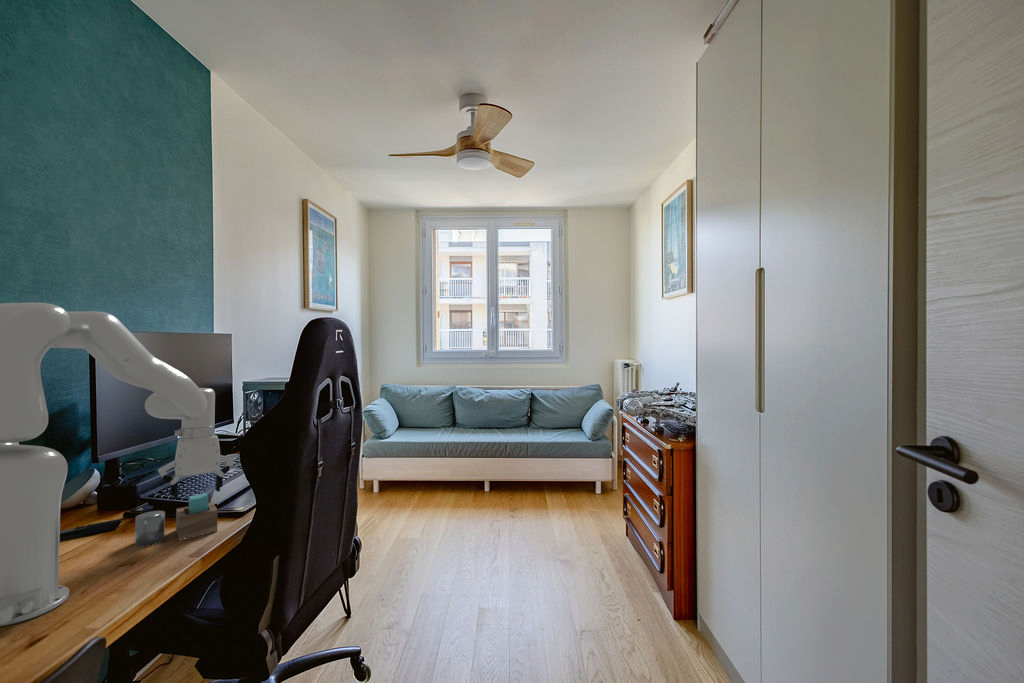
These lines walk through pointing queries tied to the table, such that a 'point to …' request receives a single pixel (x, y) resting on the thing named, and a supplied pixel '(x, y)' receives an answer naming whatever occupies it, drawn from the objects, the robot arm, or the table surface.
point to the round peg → (149, 528)
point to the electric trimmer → (89, 529)
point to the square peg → (198, 503)
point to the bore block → (196, 522)
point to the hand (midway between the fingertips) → (197, 493)
